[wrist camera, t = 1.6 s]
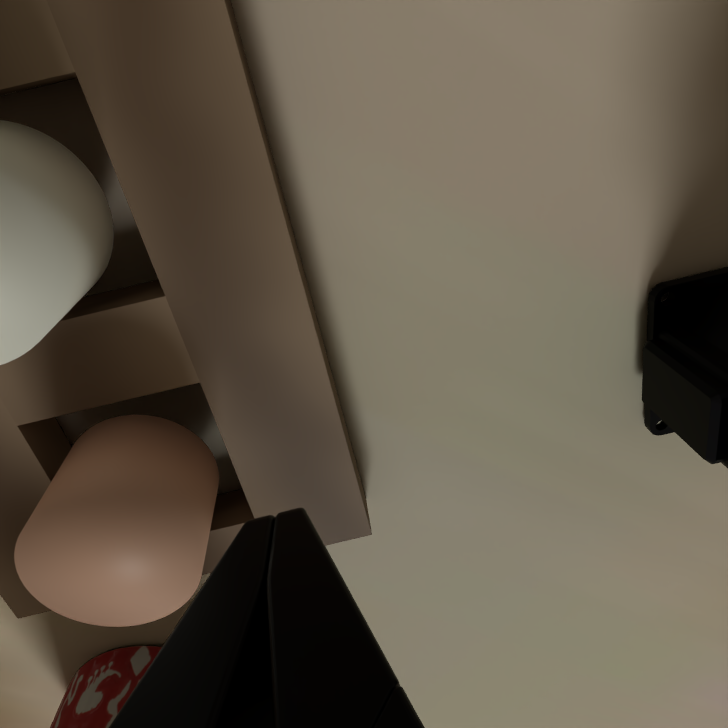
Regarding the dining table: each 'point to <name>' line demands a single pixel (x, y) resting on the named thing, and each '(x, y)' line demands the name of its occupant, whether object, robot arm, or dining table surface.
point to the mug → (103, 687)
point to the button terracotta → (122, 524)
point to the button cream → (45, 235)
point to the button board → (178, 273)
